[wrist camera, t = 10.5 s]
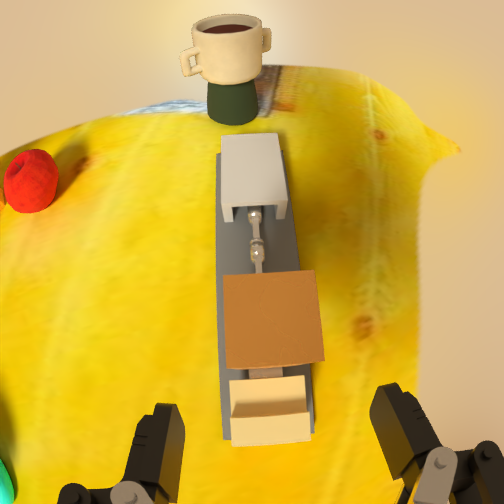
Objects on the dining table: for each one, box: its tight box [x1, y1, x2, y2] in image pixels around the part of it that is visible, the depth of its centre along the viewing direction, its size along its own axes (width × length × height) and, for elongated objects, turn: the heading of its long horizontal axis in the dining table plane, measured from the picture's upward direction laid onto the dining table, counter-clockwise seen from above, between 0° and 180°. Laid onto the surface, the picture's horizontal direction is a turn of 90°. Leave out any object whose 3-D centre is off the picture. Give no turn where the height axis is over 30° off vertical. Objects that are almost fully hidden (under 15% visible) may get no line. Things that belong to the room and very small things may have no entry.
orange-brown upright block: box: [223, 205, 325, 379], centre depth 17 cm, size 17×4×12 cm, turn 4°
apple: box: [4, 149, 59, 213], centre depth 26 cm, size 8×8×7 cm
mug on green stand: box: [180, 14, 271, 125], centre depth 27 cm, size 11×7×13 cm, turn 124°
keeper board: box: [216, 133, 314, 446], centre depth 23 cm, size 27×7×5 cm, turn 4°
